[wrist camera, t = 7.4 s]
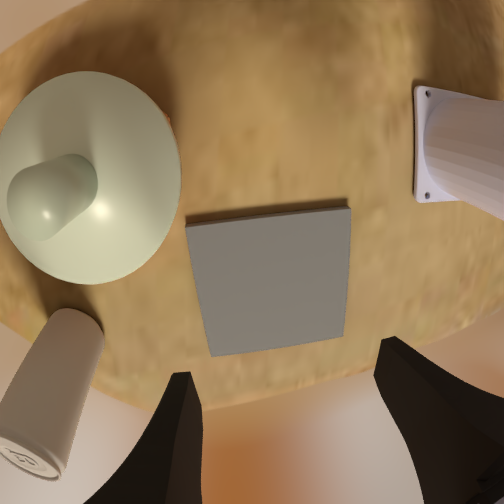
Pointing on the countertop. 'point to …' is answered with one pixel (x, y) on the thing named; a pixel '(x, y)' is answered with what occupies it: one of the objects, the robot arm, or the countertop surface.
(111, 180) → the lid
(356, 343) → the countertop surface
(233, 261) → the mat
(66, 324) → the beverage can
